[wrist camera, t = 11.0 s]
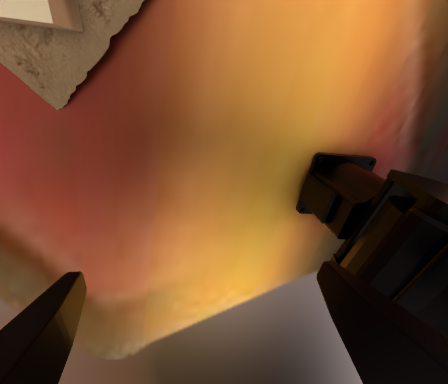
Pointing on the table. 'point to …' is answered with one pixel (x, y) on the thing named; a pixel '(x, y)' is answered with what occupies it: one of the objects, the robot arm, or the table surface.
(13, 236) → the table surface
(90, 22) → the clay tablet
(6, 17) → the taped cardboard box
